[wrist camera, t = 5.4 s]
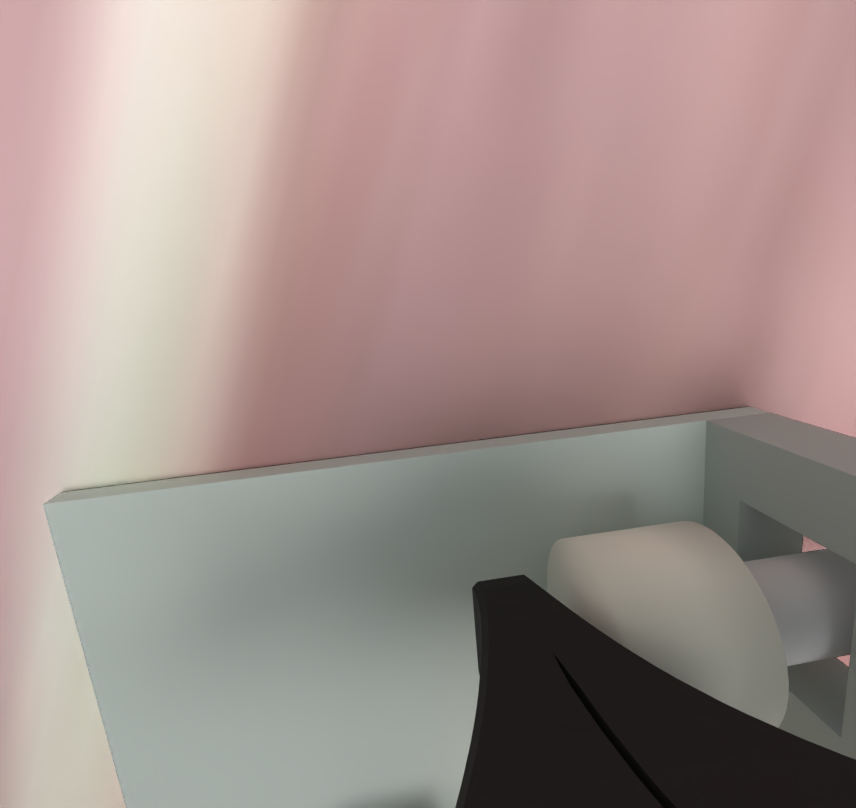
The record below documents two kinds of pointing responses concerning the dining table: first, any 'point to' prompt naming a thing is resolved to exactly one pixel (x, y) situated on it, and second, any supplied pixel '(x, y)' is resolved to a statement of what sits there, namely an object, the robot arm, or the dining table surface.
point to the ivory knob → (709, 607)
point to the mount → (396, 596)
